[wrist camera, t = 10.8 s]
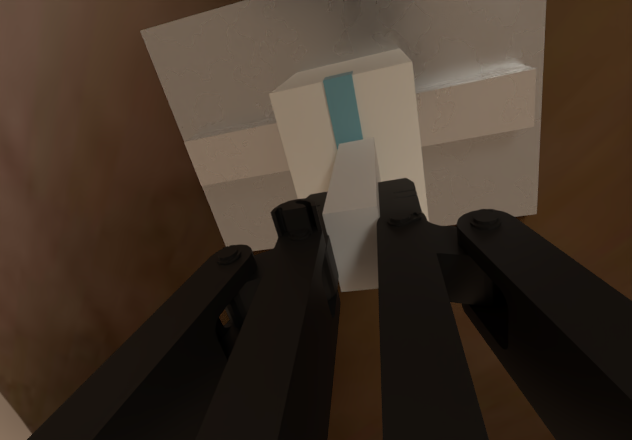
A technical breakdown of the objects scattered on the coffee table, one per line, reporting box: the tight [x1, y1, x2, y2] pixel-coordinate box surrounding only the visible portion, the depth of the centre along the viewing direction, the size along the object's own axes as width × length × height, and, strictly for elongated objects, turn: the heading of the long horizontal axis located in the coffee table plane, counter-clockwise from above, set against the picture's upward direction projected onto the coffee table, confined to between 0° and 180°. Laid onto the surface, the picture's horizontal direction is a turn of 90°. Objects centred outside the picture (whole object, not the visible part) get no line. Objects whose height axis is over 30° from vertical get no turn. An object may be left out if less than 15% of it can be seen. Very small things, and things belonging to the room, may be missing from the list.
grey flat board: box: [140, 0, 546, 251], centre depth 23 cm, size 16×22×3 cm
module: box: [269, 48, 429, 222], centre depth 20 cm, size 8×6×7 cm
